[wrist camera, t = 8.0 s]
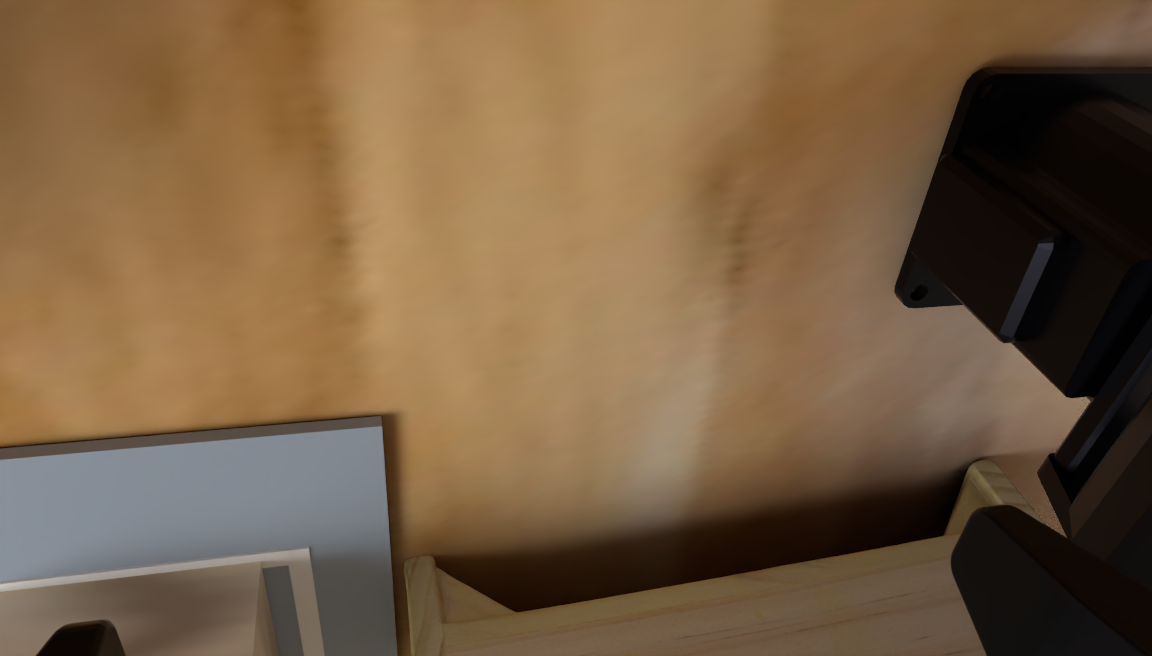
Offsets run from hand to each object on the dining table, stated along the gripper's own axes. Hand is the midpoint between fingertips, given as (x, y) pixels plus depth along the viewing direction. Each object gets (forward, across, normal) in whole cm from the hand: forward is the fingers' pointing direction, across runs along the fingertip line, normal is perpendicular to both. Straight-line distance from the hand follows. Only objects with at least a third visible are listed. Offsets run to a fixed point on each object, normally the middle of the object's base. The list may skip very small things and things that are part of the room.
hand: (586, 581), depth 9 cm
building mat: (+12, +9, +15) cm, 21 cm away
